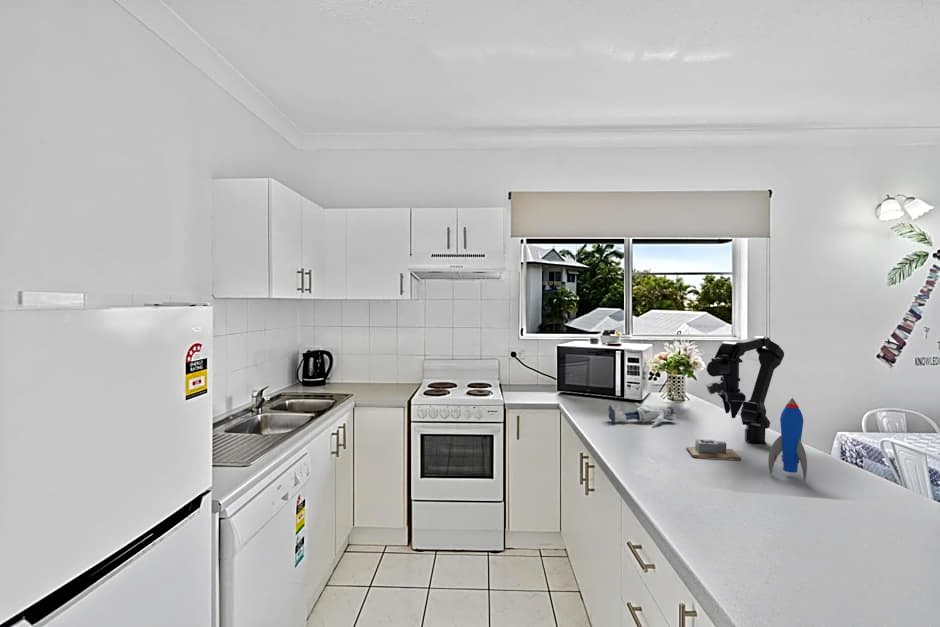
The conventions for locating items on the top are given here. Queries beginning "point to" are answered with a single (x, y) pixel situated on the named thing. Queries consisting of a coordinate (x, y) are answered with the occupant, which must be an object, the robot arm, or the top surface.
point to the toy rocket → (790, 441)
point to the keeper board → (728, 455)
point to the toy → (643, 414)
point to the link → (710, 447)
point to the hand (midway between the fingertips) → (730, 415)
